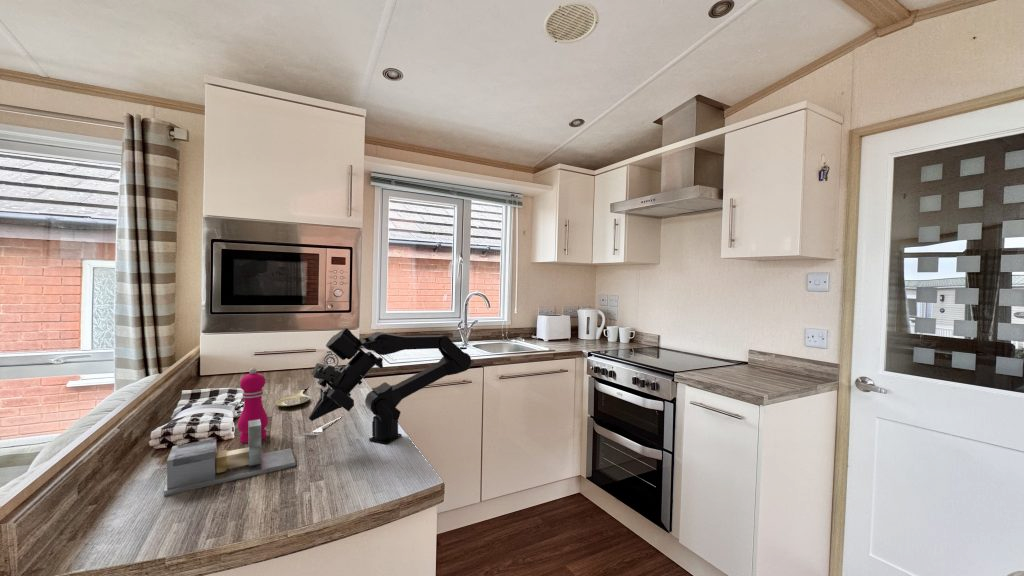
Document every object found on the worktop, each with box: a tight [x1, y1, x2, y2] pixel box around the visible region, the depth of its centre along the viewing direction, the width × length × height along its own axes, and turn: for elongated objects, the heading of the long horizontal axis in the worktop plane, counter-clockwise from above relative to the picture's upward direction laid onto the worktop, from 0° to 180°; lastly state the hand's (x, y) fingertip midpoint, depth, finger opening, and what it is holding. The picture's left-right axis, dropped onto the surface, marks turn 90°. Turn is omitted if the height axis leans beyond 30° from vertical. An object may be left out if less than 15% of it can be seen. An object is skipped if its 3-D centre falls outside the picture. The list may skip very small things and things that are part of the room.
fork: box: [303, 416, 342, 436], centre depth 124 cm, size 3×20×2 cm, turn 173°
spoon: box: [275, 389, 310, 407], centre depth 155 cm, size 35×11×2 cm, turn 18°
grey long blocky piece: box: [163, 438, 297, 497], centre depth 94 cm, size 24×10×7 cm, turn 124°
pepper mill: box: [237, 367, 269, 444], centre depth 113 cm, size 7×7×20 cm
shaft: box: [215, 419, 262, 473], centre depth 92 cm, size 15×5×9 cm, turn 124°
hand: (310, 419), depth 103 cm, fingers closed
